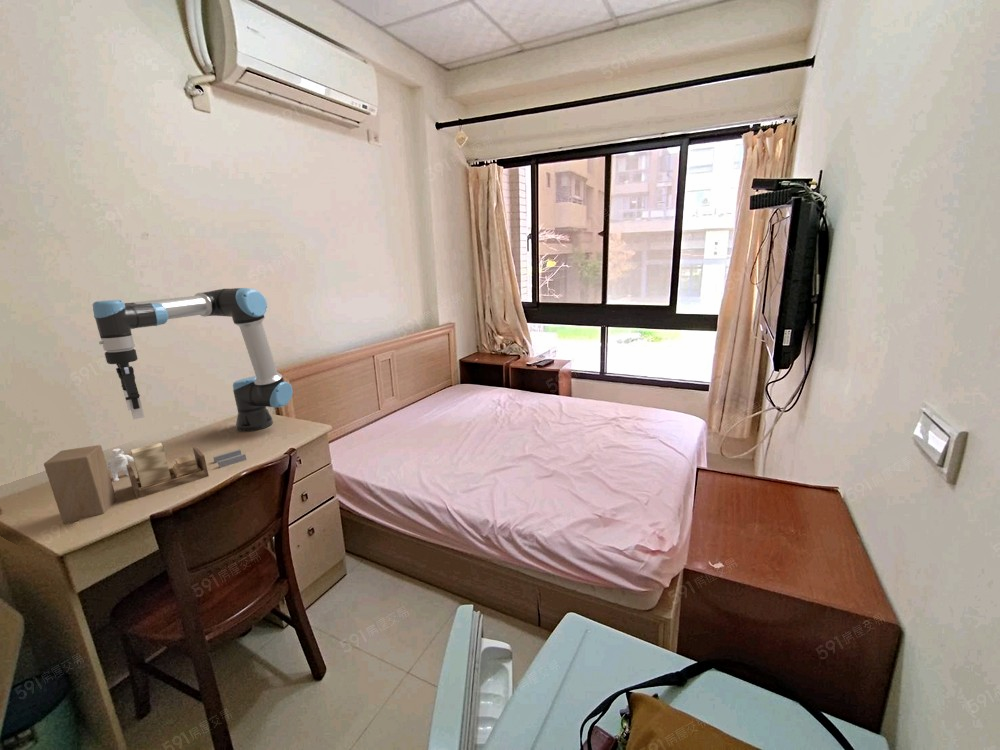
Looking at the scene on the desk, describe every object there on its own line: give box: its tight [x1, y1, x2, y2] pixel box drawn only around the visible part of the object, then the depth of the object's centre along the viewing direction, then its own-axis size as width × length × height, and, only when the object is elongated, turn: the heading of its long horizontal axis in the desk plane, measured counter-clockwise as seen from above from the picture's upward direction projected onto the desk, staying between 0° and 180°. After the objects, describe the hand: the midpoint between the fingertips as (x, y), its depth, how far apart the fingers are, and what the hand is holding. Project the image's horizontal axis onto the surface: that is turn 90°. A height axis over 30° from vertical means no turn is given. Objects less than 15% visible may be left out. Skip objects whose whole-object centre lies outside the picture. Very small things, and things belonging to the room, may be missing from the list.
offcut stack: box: [171, 454, 201, 478], centre depth 154 cm, size 7×8×6 cm
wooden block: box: [43, 444, 117, 525], centre depth 132 cm, size 10×10×20 cm
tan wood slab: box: [130, 442, 171, 487], centre depth 147 cm, size 8×4×14 cm, turn 136°
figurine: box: [106, 448, 135, 482], centre depth 154 cm, size 9×7×12 cm
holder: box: [213, 449, 247, 469], centre depth 165 cm, size 10×10×3 cm
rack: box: [126, 446, 210, 499], centre depth 150 cm, size 20×12×9 cm, turn 136°
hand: (136, 413), depth 142 cm, fingers open, 13 cm apart
